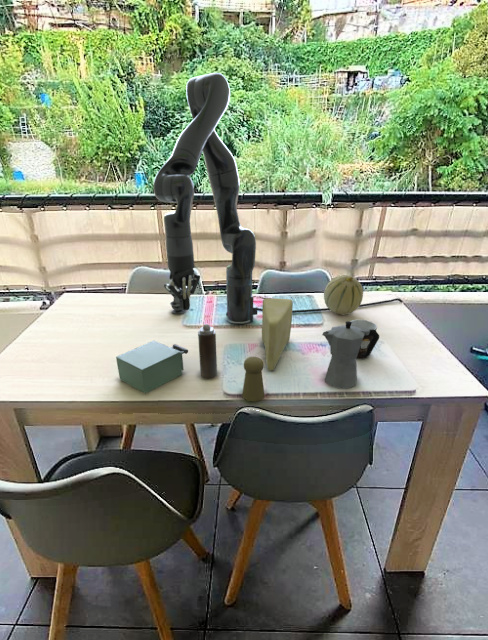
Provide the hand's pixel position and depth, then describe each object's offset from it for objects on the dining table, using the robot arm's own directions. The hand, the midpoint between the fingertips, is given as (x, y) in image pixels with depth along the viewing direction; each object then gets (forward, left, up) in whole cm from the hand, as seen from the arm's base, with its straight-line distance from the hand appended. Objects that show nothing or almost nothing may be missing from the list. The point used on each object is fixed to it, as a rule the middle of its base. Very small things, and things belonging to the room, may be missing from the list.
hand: (185, 309), depth 126 cm
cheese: (-26, +6, -15) cm, 31 cm away
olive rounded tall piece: (-15, +28, -15) cm, 35 cm away
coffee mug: (-51, +10, -15) cm, 54 cm away
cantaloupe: (-60, -23, -15) cm, 66 cm away
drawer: (+9, +11, -14) cm, 20 cm away
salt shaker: (+2, -35, -15) cm, 38 cm away
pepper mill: (-5, +16, -14) cm, 22 cm away
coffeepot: (-42, +25, -15) cm, 52 cm away
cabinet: (+12, +14, -14) cm, 23 cm away
